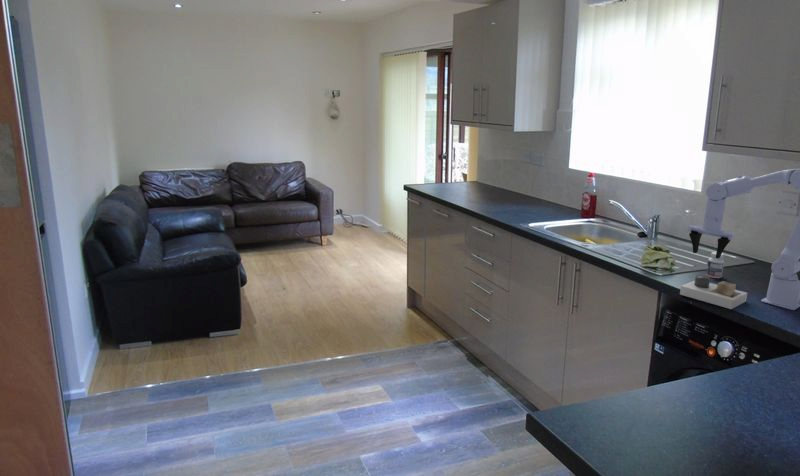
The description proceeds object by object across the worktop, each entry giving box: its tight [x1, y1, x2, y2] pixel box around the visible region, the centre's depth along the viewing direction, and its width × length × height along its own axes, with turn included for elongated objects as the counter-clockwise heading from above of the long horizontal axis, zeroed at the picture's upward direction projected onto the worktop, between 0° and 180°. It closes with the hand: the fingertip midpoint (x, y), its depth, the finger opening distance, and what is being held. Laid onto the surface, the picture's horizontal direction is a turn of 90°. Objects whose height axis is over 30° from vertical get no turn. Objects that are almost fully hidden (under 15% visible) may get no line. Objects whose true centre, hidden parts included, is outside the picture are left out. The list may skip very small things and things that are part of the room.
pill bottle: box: [705, 251, 725, 279], centre depth 210 cm, size 5×5×9 cm
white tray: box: [679, 274, 748, 310], centre depth 186 cm, size 16×12×6 cm
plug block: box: [716, 280, 737, 298], centre depth 184 cm, size 4×4×6 cm
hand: (706, 255), depth 199 cm, fingers open, 7 cm apart
